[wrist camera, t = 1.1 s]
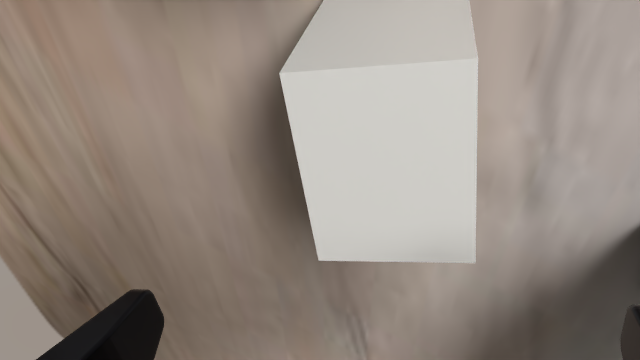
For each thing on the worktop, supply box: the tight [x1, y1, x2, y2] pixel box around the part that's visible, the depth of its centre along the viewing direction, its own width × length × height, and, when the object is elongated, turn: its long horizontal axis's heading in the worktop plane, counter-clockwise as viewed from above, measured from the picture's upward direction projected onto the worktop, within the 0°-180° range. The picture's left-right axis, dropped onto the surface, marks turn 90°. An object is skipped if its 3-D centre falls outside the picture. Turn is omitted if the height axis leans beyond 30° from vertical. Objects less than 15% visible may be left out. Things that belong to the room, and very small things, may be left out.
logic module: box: [279, 0, 478, 263], centre depth 16 cm, size 4×6×7 cm
